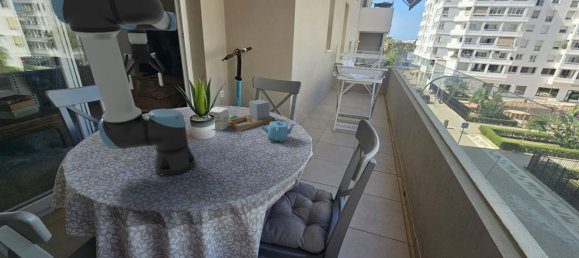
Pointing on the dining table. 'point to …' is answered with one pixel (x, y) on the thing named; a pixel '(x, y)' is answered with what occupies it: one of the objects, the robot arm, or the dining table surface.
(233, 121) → the pallet
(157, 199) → the dining table surface
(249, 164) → the dining table surface
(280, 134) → the teapot
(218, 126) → the white labeled carton
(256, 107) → the block
